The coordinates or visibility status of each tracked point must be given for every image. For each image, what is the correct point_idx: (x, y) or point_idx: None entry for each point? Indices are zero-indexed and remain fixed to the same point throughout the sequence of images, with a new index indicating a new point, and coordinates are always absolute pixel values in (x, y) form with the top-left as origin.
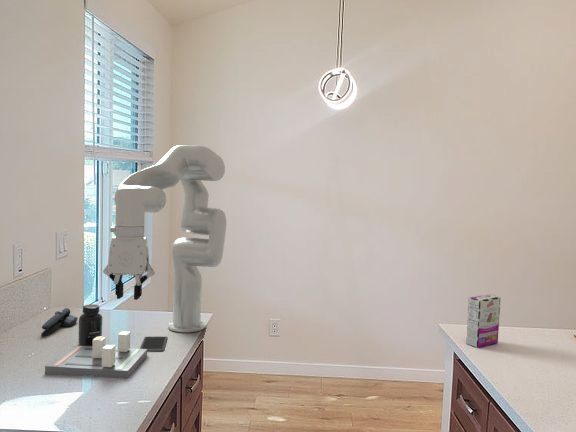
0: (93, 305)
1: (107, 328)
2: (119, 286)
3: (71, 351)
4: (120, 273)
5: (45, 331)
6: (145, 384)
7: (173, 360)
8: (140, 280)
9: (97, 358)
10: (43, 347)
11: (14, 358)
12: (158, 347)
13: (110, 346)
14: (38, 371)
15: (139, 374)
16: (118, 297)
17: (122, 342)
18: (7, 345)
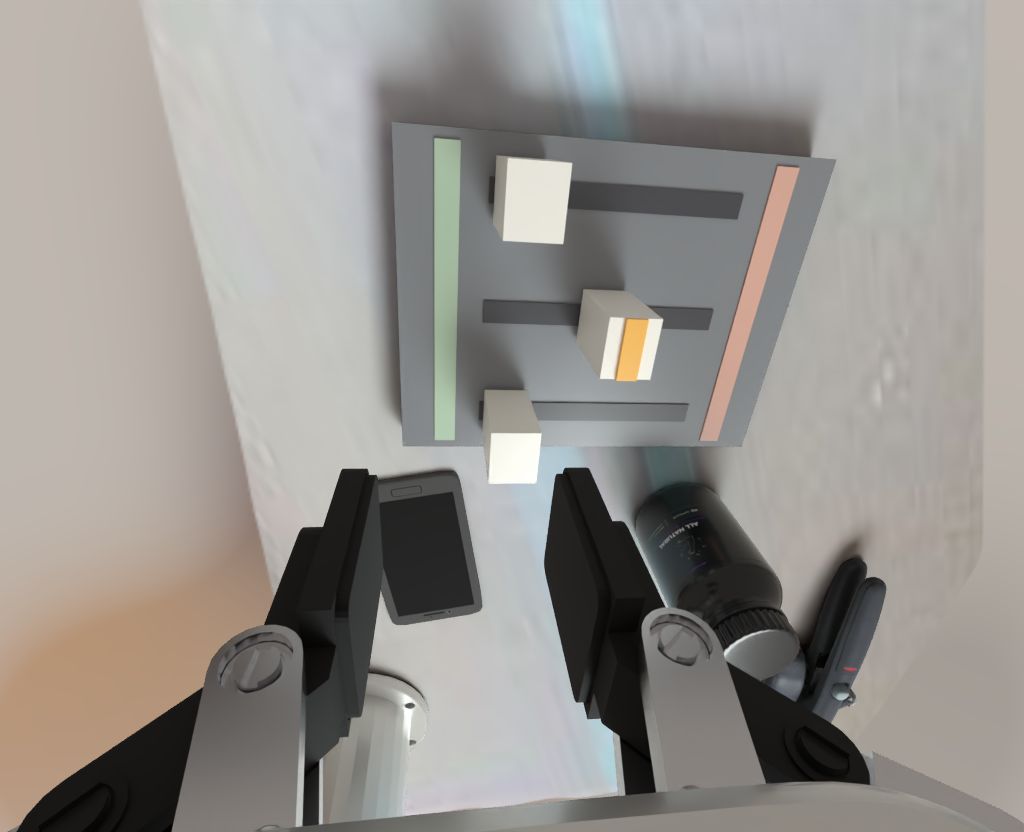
0: (748, 667)
1: None
2: (598, 583)
3: (738, 369)
4: (663, 809)
5: (857, 579)
6: (259, 27)
7: (259, 393)
8: (202, 734)
9: None
10: (844, 459)
11: (946, 332)
12: (385, 516)
13: (527, 207)
14: (841, 186)
15: (353, 188)
16: (571, 473)
17: (511, 412)
18: (972, 459)
